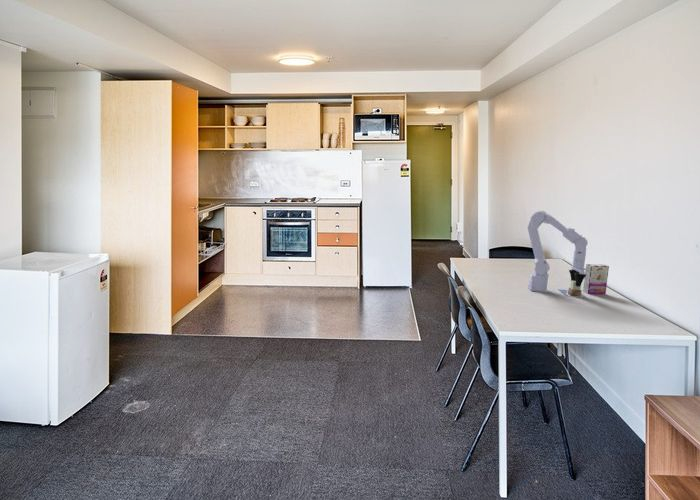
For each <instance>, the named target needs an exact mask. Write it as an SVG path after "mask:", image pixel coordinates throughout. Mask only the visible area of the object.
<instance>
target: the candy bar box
mask: <svg viewBox="0 0 700 500" xmlns="http://www.w3.org/2000/svg"><path fill="white" fill-rule="evenodd" d="M609 268H610V266H609V265H607V264H603V263H601V264H599V263H598V264H595V263H593V264H591V263H589V264H588V263H587V264H586V263H585V269H586V270H584V274H586V277H585V278H584V279H583V288H582V293H584V294H587V295H606V292H607V285H608V277H609V271H610V270H609Z"/></svg>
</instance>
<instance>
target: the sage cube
mask: <svg viewBox="0 0 700 500" xmlns="http://www.w3.org/2000/svg"><path fill="white" fill-rule="evenodd" d="M569 288H571V289H573V290H582V285H581V286H580V287H578V286H576V281H571V280H570V286H569Z"/></svg>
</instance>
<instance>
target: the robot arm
mask: <svg viewBox="0 0 700 500" xmlns="http://www.w3.org/2000/svg"><path fill="white" fill-rule="evenodd" d="M542 224H549V225H551V226H552V227H554V228H555V229H557V230H558V231H559V232H561V233H562V236H563V238H565V239H566V240H568V241H569V242H570V243H571V244H574V247H575V248H574V252H573V257H572V258H573V260H572V264H571V269H568V272H569V274H570V282H571V281H576V286H578V287H580V286H581V287H582V283H583V282H584V279H585V277H586V274H585V270H586V267H585V265H586V256H587V255H586V254H587V245H588V243H589V242H588V239H587V238H586V237H584V236H583V235H582V234H579V233H578V232H576V231H575V228H571V227H566V226H565V225H563V224H562V223H561V222H560V221H559V220H557V219H556V218H555V217H553V215H551V214H549V213H547V212H546V211H544V210H538V211H535V212H534V213H533V215H531V217H530V220H529V223H528V225H527V231H528V235H529V240H530V243H531V246H532V247H531V248H532V251H533V256H534V264H535V265H534V271H535V272H534V273H531V274H530V275H529V276H528V277H529V279H528V285H527V286H528V287H527V289H529V290H530V292H543V293H544V292H545V293H549V292H550V291H549V290H548V289H547V288H548V281H549V273H548V271H549V270H550V264H549V263H548V262H547V259H546V257H545V255H544V250H543V246H542V242H541V238H540V234H539V228H540V226H541V225H542Z"/></svg>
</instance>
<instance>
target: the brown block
mask: <svg viewBox="0 0 700 500" xmlns="http://www.w3.org/2000/svg"><path fill="white" fill-rule="evenodd" d="M568 290H569V291H568V294H569V295H570V296H577V297H576V298H581V294H582V292H583V289H580V290H573V289H571V288H570V287H568Z"/></svg>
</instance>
